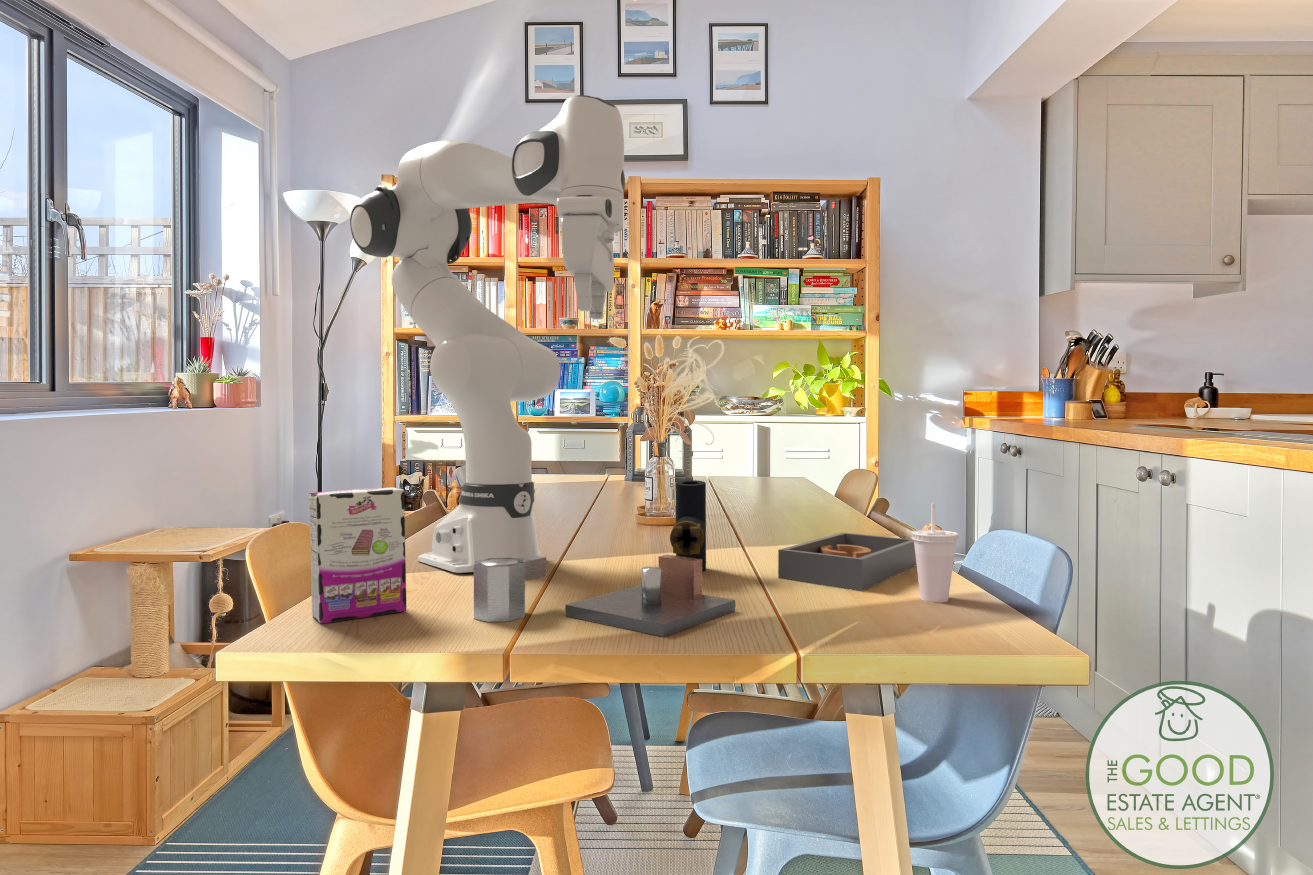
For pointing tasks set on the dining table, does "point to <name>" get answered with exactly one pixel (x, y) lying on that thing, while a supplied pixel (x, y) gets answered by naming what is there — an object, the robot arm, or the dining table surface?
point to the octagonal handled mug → (504, 586)
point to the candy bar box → (357, 553)
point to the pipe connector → (690, 520)
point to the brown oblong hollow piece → (845, 550)
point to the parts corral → (846, 561)
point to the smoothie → (934, 560)
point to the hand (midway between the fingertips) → (590, 315)
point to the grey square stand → (656, 600)
